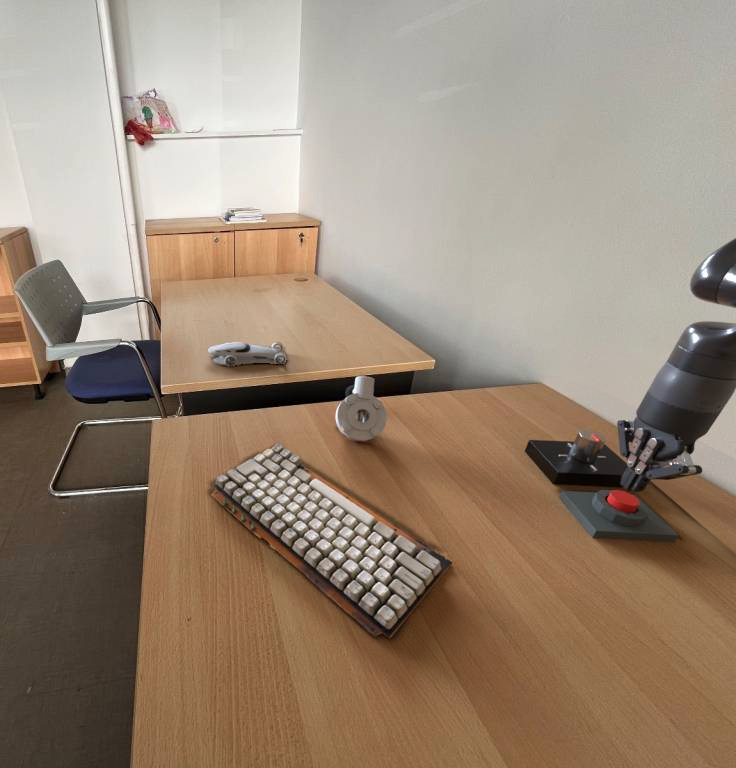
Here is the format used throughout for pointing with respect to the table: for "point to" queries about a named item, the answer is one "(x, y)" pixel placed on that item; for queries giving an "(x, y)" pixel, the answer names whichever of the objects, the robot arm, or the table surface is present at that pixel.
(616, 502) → the button
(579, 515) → the button box
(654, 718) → the table surface
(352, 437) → the mechanical valve
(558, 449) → the panel
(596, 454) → the knob
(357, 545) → the mechanical keyboard
